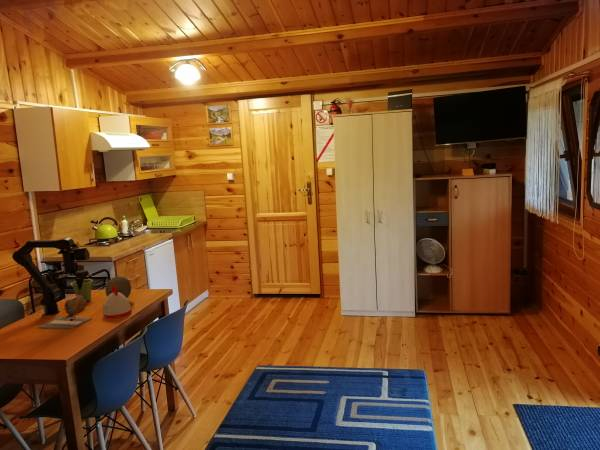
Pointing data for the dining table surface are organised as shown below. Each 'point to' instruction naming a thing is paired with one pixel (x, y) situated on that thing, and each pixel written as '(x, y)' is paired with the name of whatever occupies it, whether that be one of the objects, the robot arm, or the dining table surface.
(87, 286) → the plant pot
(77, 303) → the tin
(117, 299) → the kitchen timer
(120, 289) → the cantaloupe
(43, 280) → the robot arm
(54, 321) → the mat
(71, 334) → the dining table surface
